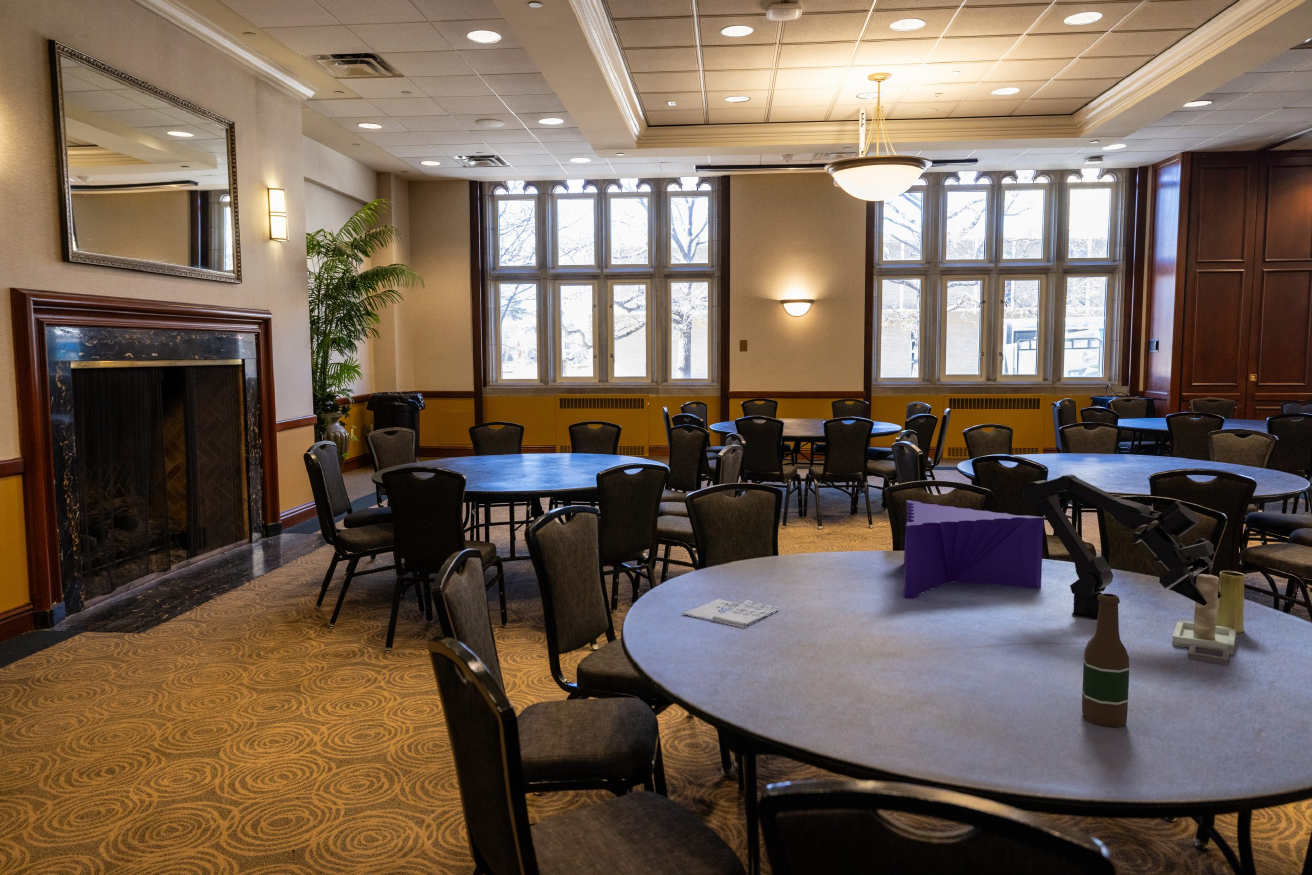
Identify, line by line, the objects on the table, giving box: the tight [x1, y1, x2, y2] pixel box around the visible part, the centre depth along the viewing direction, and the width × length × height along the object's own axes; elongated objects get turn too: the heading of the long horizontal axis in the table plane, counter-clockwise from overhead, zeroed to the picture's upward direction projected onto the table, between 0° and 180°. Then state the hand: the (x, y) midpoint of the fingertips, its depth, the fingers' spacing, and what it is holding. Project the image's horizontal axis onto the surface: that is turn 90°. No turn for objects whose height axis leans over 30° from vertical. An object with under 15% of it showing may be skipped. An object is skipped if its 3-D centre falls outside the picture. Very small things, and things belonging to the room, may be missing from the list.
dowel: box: [1193, 574, 1219, 641], centre depth 204 cm, size 4×4×15 cm
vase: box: [1216, 570, 1246, 634], centre depth 212 cm, size 6×6×14 cm
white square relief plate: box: [682, 598, 781, 629], centre depth 230 cm, size 19×20×2 cm
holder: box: [1187, 644, 1230, 666], centre depth 194 cm, size 8×8×1 cm
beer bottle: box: [1081, 592, 1130, 728], centre depth 160 cm, size 8×8×24 cm
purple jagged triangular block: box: [902, 499, 1045, 600], centre depth 255 cm, size 40×45×21 cm
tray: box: [1171, 619, 1237, 656], centre depth 204 cm, size 12×15×2 cm
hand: (1212, 600), depth 202 cm, fingers open, 9 cm apart
